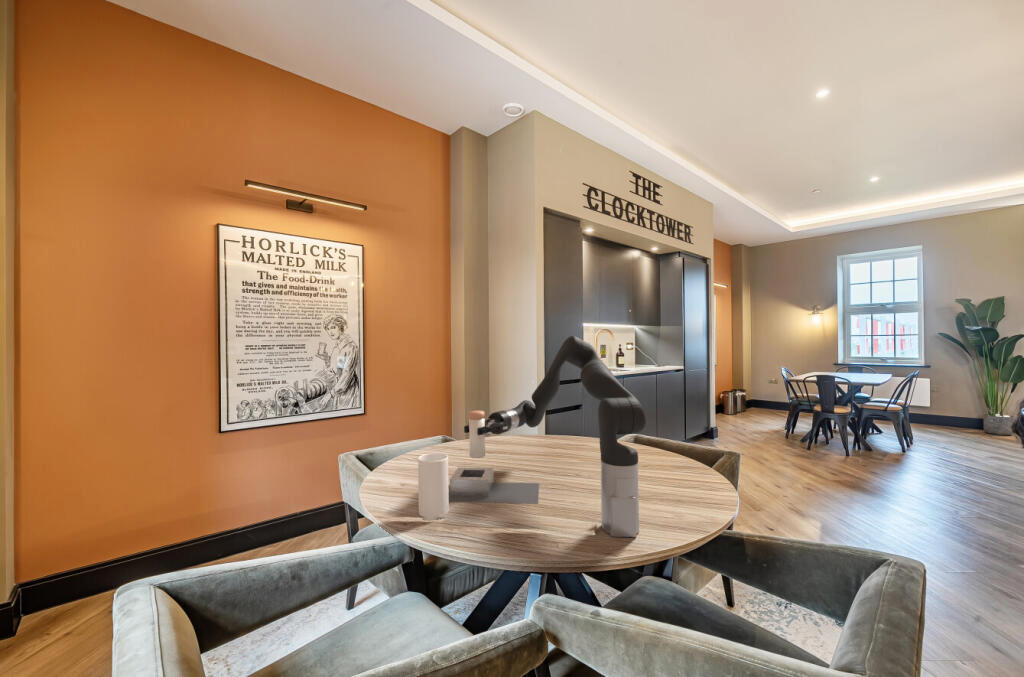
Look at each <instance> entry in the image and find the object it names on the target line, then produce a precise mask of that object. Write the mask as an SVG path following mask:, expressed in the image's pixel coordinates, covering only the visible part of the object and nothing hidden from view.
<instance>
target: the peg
mask: <svg viewBox="0 0 1024 677" xmlns="http://www.w3.org/2000/svg"><path fill="white" fill-rule="evenodd" d="M485 417H486V416H485V411H484V410H470V411H468V422H469V432H468V433H469V434H468V436H469V437H468V438H469V439H468V441H469V444H468V445H469V457H470V458H472V459H480V458H481V459H482V458H484V457H486V434H483V435H478V434H477V429H478V428H480V427H483V426H485V419H486V418H485Z"/></svg>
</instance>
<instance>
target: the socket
mask: <svg viewBox="0 0 1024 677" xmlns="http://www.w3.org/2000/svg"><path fill="white" fill-rule="evenodd" d="M494 469H495V468H494V467H461V466H460V467H457V468H456V470H455V471H454V472H453V474H452V476H451V477H450V478H449V492H450V496H477V497H489V495H490V492H491V489H492V487H493V484H494V482H495V481H494V480H495V478H494V477H495V476H494V472H495V471H494Z"/></svg>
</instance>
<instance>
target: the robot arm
mask: <svg viewBox="0 0 1024 677" xmlns="http://www.w3.org/2000/svg"><path fill="white" fill-rule="evenodd" d="M566 362H567V363H569V364H571V365H573V366H575V367H577V368H579V369H580V378H579V379H580V381H581V384H582V386H583V387H584V389H585V391H586V392H587V393H588V395H590V396H591V397H593V398H594V399H596V400H598V401H600V402H599V404H598V409H597V411H598V412H597V418H598V419H597V420H598V422H597V423H598V433H599V434H598V436H599V450H600V486H601V487H600V494H601V495H600V496H601V497H600V498H601V502H600V504H601V505H600V510H601V512H600V513H601V529H602V530H603V531H604V532H605V533H607V534H609V535H610V537H617V538H618V537H621V538H623V537H624V538H637V535H638V534H639V532H640V504H639V502H640V501H639V500H640V499H639V498H640V496H639V491H640V490H639V453H638V450H636V449H635V448H634V447H631V446H627V445H625V444H622V443H620V442H618V439H617V435H634V434H638V433H640V432H642V431H643V430H644V429H645V428H646V423H647V417H646V412H645V410H644V407H643V406H642V404H641V402H640V401H639V400H638V399H637V397H636V396H634V395H633V394H632V393H631V392H630V391H629V390H628V389H626V388H625V386H623V384H622V383H620V381H619V380H618V379H617V378H616V377H615V376H614V374H613V373H612V371H611V370H610V368H608V366H607V365H606V364H605V363H604V362H603V360H601V358H600V357H599V354H598V352H597V351H596V349H595V347H594V346H593V345H592V344H590V343H589V342H587V341H585V340H584V339H581V338H579V337H577V336H575V335H571V336H568V337H567V338H566V339H565V340H564V342H563V343H562V344H561V346H560V347H559V350H558V351H557V354H556V355H555V357H554V359H553V360H552V363H551V364H550V367H549V368H548V371H547V372H546V374H545V376H544V377H543V379H542V381H541V382H540V383H539V385H538V386H537V388H535V390H534V392H532V394H531V400H532V401H530V400H522V401H521V402H520V403H519V404H518V405H517V406H515V407H514V408H513V407H512V408H508V409H503V410H499V411H495V412H492V413H491V414H489V416H488V418H485V426H483V427H480V428H478V429H477V434H478V435H483V434H485V435H486V434H488V435H489V434H493V435H501V434H504V433H508V432H510V431H513V430H514V429H518V428H520V427H523V426H524V425H525V424H526V426H527V427H528V428H536V427H537V426H539V425H540V424H541V423H542V421H543V419H544V416H545V413H546V410H547V408H548V405H549V404H550V403H551V402H552V400H553V399H554V397H555V396H556V395H557V393H558V392H559V388H560V384H561V382H560V378H561V376H560V375H561V369H562V367H563V365H564V364H565V363H566ZM463 433H465V434H468V433H469V421H468V424H467V425H464V427H463Z"/></svg>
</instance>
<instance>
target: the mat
mask: <svg viewBox="0 0 1024 677" xmlns="http://www.w3.org/2000/svg"><path fill="white" fill-rule="evenodd" d="M539 487H540V482H495V481H494V484H493V487H492V489H491V492H490V495H489V497H477V496H450V491H449V503H472V504H473V503H477V504H478V503H479V504H482V503H483V504H487V503H488V504H523V505H525V504H527V505H538V504H539V492H540V491H539V490H540V488H539Z"/></svg>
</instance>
